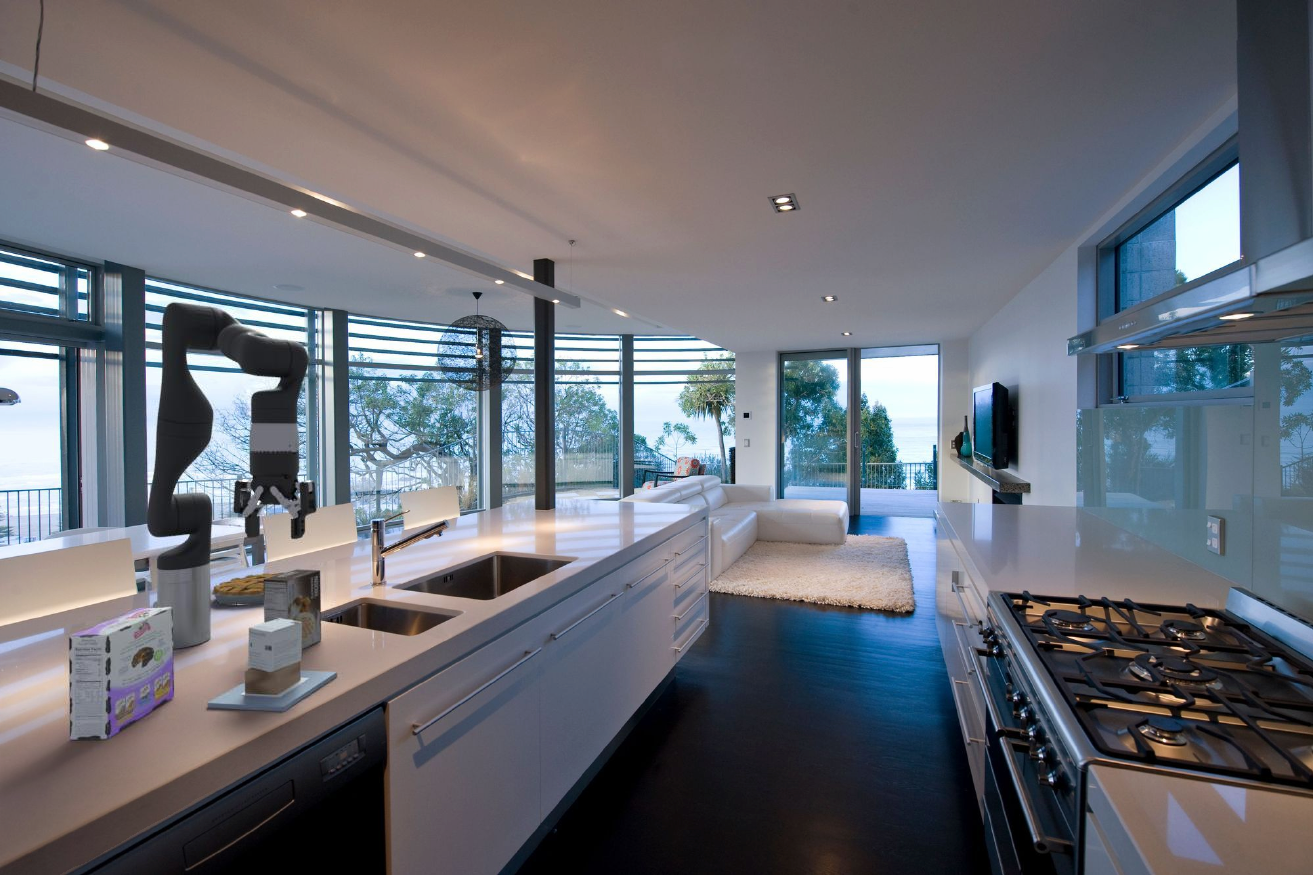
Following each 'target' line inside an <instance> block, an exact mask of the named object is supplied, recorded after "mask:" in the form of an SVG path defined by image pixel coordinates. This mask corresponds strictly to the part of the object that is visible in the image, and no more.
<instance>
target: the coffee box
mask: <svg viewBox="0 0 1313 875" xmlns="http://www.w3.org/2000/svg"><path fill="white" fill-rule="evenodd" d="M282 573H283V574H280V575H276V576H273V577H270V578H266V579H263V581H264V604H263V618H264V619H263V620H264V621H263V623H266V622H269V621H272V620H275V619H278V618H282V619H288V620H294V621H298V622H302V650H303V649H305V648H307V647H310V646H311V645H314V644H316V643H318V642H320V641H322V603H321V600H322V599H321V596H322V595H321V591H322V590H321V570H317V569H316V570H315V569H300V568H299V569H298V568H297V569H294V570H290V571H288V572H287V571H286V572H282Z"/></svg>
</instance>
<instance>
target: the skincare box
mask: <svg viewBox="0 0 1313 875" xmlns="http://www.w3.org/2000/svg"><path fill="white" fill-rule="evenodd" d="M302 650H303V649H302V622H298V621H294V620H288V619H282V618H278V619H275V620H272V621H269V622H266V623H264V622H263V623H262V622H261V623H259V624H256V625H253V626H249V627H248V652H247V653H248V654H247V655H248V656H247V657H248V659H247V660H248V661H247V662H248V663H247V665H248V666H247V667H248V668H249V669H250V668H254V669H259V670H263V671H267V672H274V671H276V670H279V669H281V668H284V667H286V666H289V665H291V664H294V663H296V662H299V661H300V662H302V652H303V651H302Z"/></svg>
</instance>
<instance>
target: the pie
mask: <svg viewBox="0 0 1313 875" xmlns="http://www.w3.org/2000/svg"><path fill="white" fill-rule="evenodd" d="M283 573H284V572H278V573H269V572H268V573H267V572H266V573H262V574H249V575H246V576H244V577H236V578H235V577H234V578H232V579H230V580H229V581H223V582H220V583H219V584H218V585H217V584H216V585H215V586H213V590H212V592H211V595H214V597H215V598H216V600H217V602H218V601H219V602H221V603H220V604H222V603H224V604H223V605H225V604H236V605H235V606H238V605H237V604H255V605H261V604H260V603H264V581H263V579H266V578H270V577H273V576H276V575H280V574H283ZM219 602H218V603H219Z"/></svg>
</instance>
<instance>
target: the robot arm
mask: <svg viewBox="0 0 1313 875" xmlns="http://www.w3.org/2000/svg"><path fill="white" fill-rule="evenodd" d="M161 322H162V323H161V359H162V360H161V385H160V395H159V402H158V403H159V404H158V411H157V417H156V418H157V419H156V434H155V458H154V468H153V469H154V470H153V476H152V481H151V488H150V492H149V499H148V504H147V511H146V526H147V530H148V532H149V535H151V536H152V537H154V538H169V537H176V536H177V537H178V536H186V535H188V537H187V539H186V540H185V541H184V542H182V543H181V544H180V545H177V546H175V547H174V548H171V549H169V550H166V551H163V552H162V553H161V554H159V555H158V556H157V558H156V597H157V598H156V600H155V601H154V602H153V604H152V608H156V607H172V611H173V650H175V649H183V648H188V647H192V646H196V645H199V644H203V643H205V642H207V641H208V640H210V639H211V636H212V634H211V633H212V631H211V629H212V628H211V622H212V621H211V619H212V618H211V617H212V616H211V614H212V612H211V607H212V604H211V595H212V592H211V551H212V530H213V529H212V528H213V527H212V526H213V504H212V499H211V497H210V496H209V495H208V494H207V493H206V492H186V493H174V492H175V490H176V489H175V488H176V486H177V484H178V482H179V480H180V478H181V476H183V474H184V472H185V471H186V470H187V469H188V468H189V467H190V466H191V465H192V463H194V461H196V460H197V458H199V456H201V454H202V453H203V452H204V450H205V449H206V448H207V447H208V446H209V444H210V443H211V440H212V434H213V424H214V409H213V407H212V403H211V402H210V401H209V399H208V398H207V396H206V395H205V393H204V392H203V390H202V389H201V388H200V387H199V385H198V383H197V382H196V380H195V379H194V377H193V375H192V373H191V371H190V369H189V364H188V360H187V353H188V350H196V351H208V352H209V351H211V352H212V351H214V352H215V351H220V352H221V353H222V355H224V356H225V357H226V358H227V359H229V360H231V361H232V362H235V363H237V364H238V365H239V367H240V369H241V371H242V372H243V373H245V374H248V375H250V376H255V377H265V378H276V379H278V378H279V382H278V384H277V386H276V387H274V388H270V389H264V390H258V391H255V392H254V393H253V394H252V395H251V399H250V423H251V424H250V430H249V443H248V444H249V474H250V475H251V476H252V479H248V478H247V479H242V480H241V479H240V480H236V481H235V482H234V488H233V489H234V490H233V491H234V492H233V513H234V514H240V515H242V516H243V517H244V533H245V535H246V537H247V538H248V539H251V538H257V537H259V536H260V534H261V525H260V524H261V522H260V520H261V518H260V516H261V515H259V514H260V513H261V511H262V510H263V509H264V507H266V506H267V505H274V506H282V508H283V509H284V510H287V512H288V513H289V514H290V516H291V517H292V518H290V538H291V539H292V540H297V539H301V538H303V536H304V535H305V533H306V516H309V515H312V514H315V513H316V512H317V498H316V483H315V481H314V480H305V481H299V479H298V474H299V472H300V433H299V427H298V401H299V396H300V392H301V389H302V385H303V382H304V381H305V380H304V379H305V376H306V373H307V371H308V366H309V355H308V354H309V353H308V351H307V349H306V348H305V346H303V344H302V343H300V342H299V341H295V340H292V339H290V340H289V339H282V338H273V337H270V336H268V335H267V334H265V333H263V332H261V331H259V330H256V329H253V328H251V327H248V326H245V325H243V324H242V323H241V322H240V321H239V320H237V319H236V318H235V317H233V315H231V314H230V313H228V312H227V311H226V310H224V309H221V308H219V307H214V306H209V305H208V306H207V305H200V304H193V303H186V302H175V301H174V302H173V301H172V302H170V303H168V304H167V305H166V307H165V309H164V311H163V314H162V321H161ZM252 492H253V494H252ZM297 492H298V493H299V495H298V494H297ZM251 495H252V496H251Z"/></svg>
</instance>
